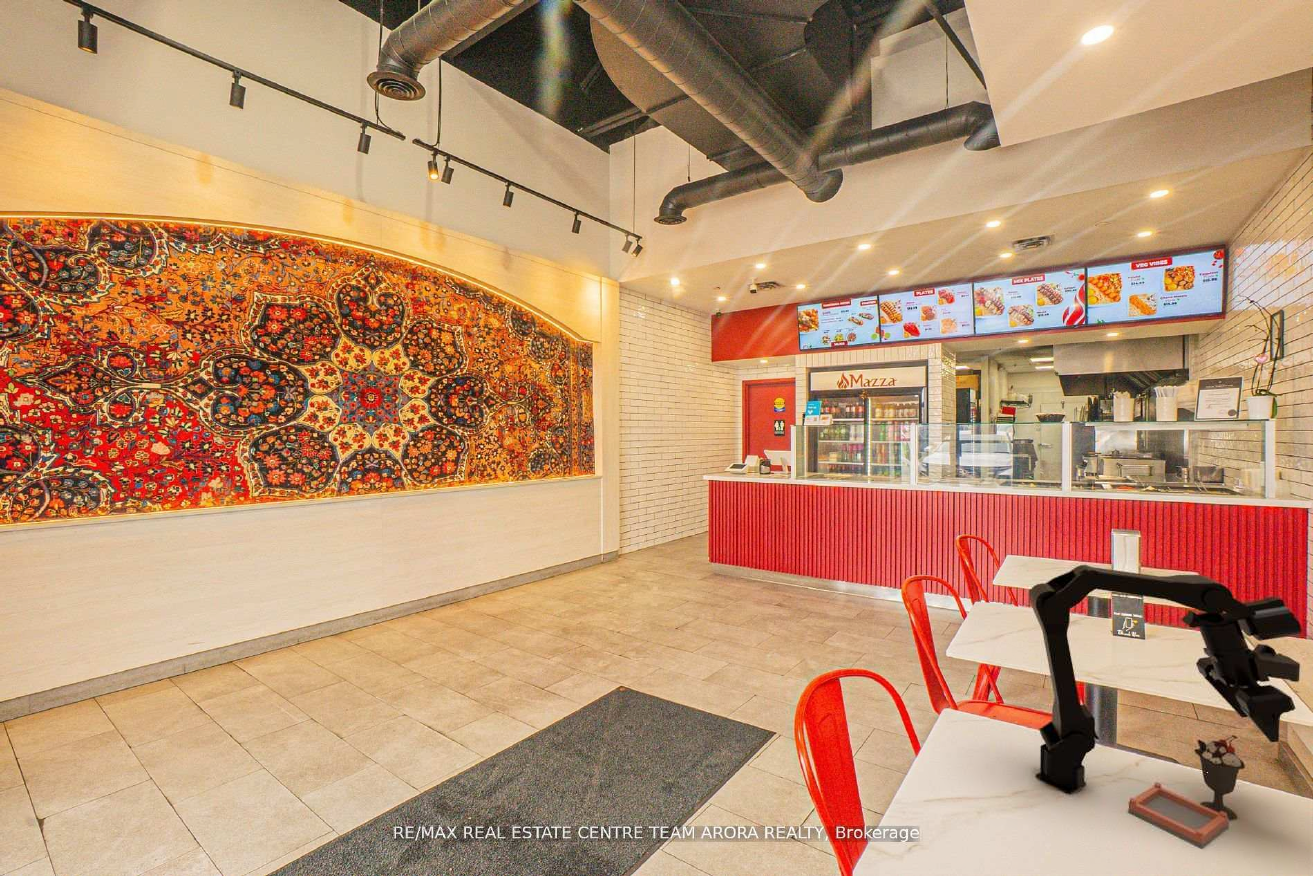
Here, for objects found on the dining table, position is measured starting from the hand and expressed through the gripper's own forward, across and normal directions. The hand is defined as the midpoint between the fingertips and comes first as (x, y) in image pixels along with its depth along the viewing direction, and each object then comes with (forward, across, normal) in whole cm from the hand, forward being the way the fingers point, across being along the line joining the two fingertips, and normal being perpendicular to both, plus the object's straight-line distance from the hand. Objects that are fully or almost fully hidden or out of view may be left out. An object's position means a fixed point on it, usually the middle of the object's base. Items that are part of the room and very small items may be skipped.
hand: (1259, 728), depth 107 cm
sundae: (+14, 0, +10) cm, 18 cm away
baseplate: (+11, -6, +18) cm, 22 cm away
